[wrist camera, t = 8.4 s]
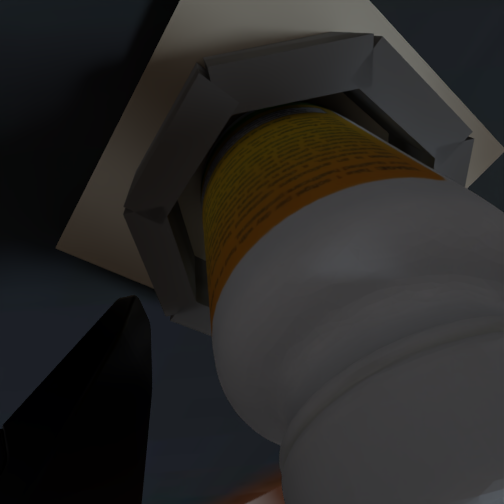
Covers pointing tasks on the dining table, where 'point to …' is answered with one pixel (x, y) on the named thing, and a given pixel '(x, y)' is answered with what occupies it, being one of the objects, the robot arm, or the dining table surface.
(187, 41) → the collar
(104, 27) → the dining table surface
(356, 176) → the supplement bottle
